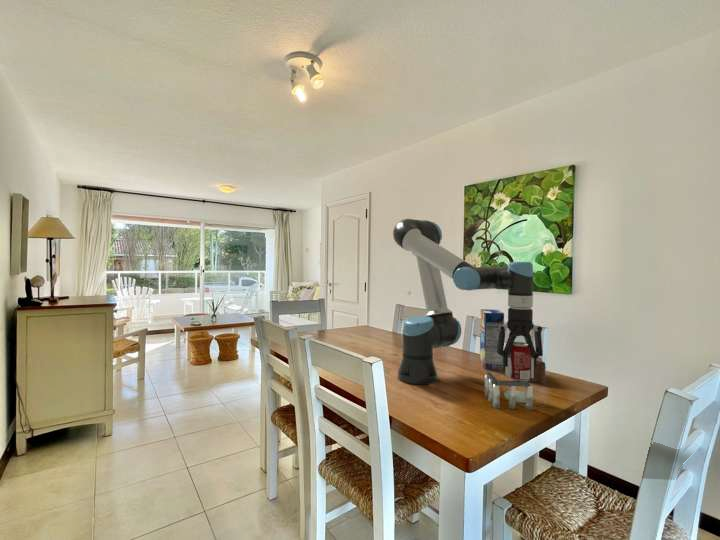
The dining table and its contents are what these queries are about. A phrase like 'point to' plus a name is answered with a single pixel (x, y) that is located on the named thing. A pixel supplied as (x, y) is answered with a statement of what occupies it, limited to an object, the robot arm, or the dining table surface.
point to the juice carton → (490, 339)
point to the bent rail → (494, 391)
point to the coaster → (517, 396)
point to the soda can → (520, 361)
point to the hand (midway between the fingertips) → (519, 376)
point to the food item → (539, 371)
